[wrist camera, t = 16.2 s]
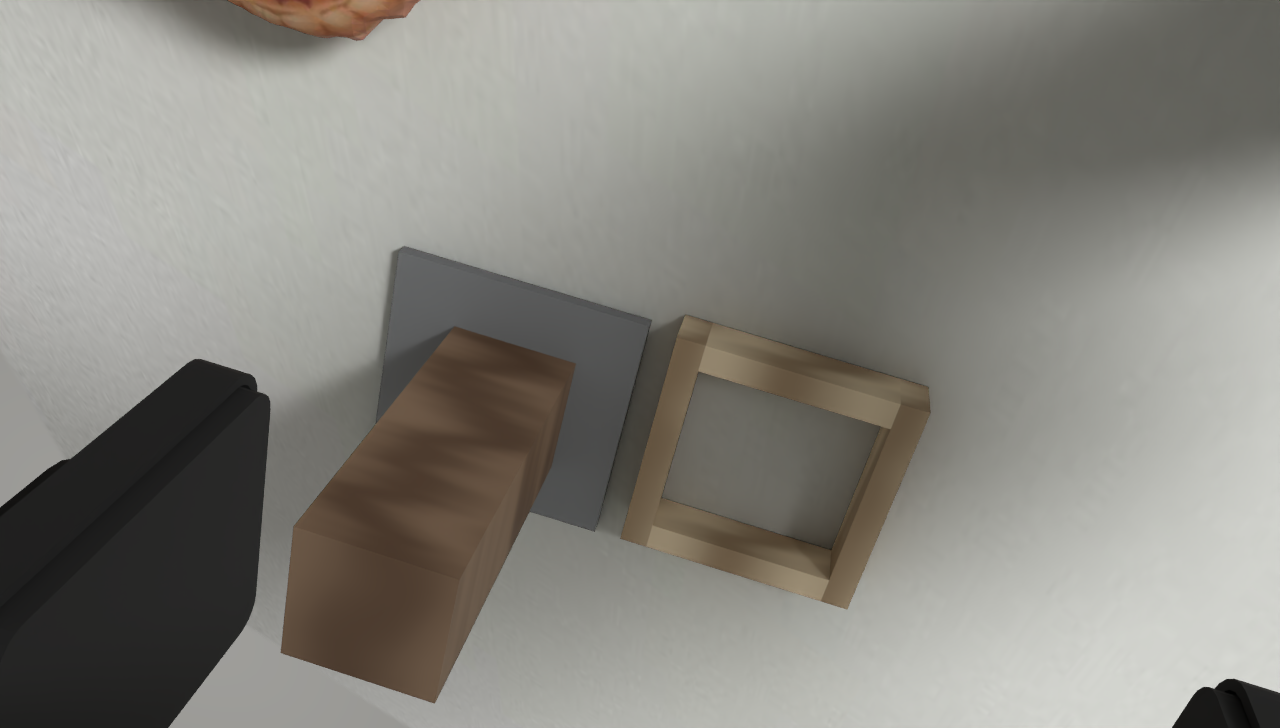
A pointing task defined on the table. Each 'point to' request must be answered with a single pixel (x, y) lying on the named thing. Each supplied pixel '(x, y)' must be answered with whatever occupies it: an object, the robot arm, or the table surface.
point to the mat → (536, 321)
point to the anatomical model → (328, 15)
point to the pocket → (803, 381)
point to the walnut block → (425, 515)
